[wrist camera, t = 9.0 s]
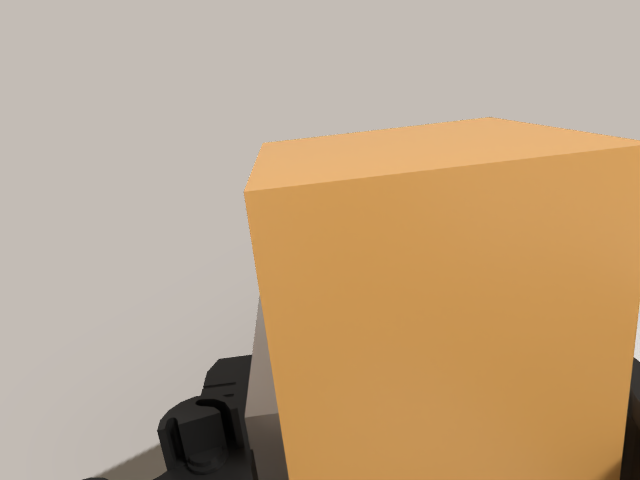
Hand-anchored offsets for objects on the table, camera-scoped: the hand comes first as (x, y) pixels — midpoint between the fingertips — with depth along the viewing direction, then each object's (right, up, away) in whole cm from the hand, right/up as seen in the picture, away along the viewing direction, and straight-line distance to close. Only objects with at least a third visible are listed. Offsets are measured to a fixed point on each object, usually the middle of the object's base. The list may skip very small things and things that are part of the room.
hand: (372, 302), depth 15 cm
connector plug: (+1, -8, -3) cm, 8 cm away
